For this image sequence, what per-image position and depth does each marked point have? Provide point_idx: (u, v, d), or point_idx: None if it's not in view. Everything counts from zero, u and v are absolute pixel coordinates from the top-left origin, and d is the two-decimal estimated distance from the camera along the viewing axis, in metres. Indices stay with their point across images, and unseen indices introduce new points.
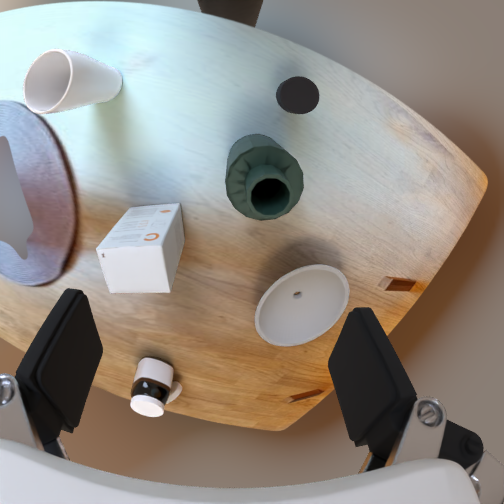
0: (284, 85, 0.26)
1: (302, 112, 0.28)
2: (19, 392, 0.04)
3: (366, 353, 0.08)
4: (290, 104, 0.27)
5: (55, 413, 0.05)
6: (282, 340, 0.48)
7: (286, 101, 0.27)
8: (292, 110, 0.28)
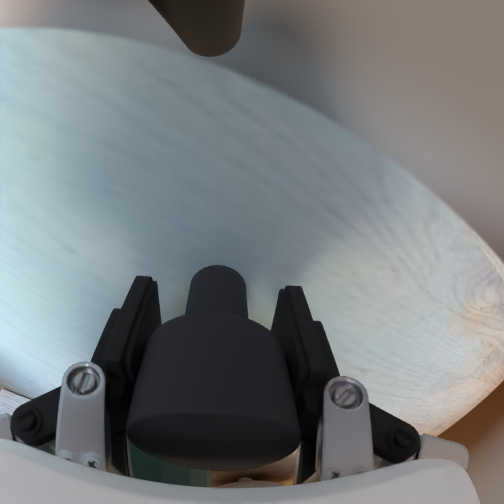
0: (135, 427, 0.05)
1: (225, 470, 0.07)
2: (106, 378, 0.06)
3: (287, 328, 0.08)
4: (177, 460, 0.06)
5: None
6: None
7: (158, 454, 0.06)
8: (188, 467, 0.06)
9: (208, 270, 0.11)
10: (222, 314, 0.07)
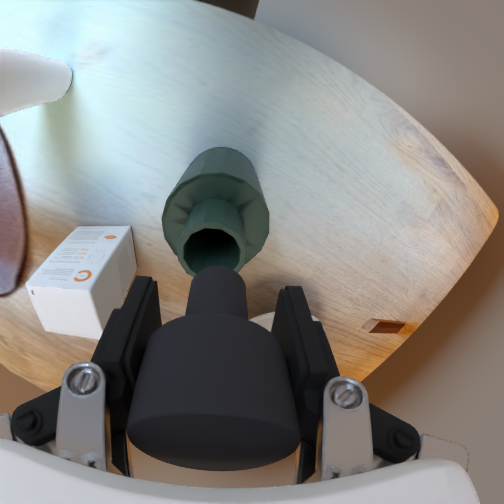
0: (135, 427, 0.05)
1: (225, 470, 0.07)
2: (106, 378, 0.06)
3: (287, 328, 0.08)
4: (177, 460, 0.06)
5: None
6: None
7: (159, 455, 0.06)
8: (188, 467, 0.06)
9: (208, 271, 0.11)
10: (222, 315, 0.07)
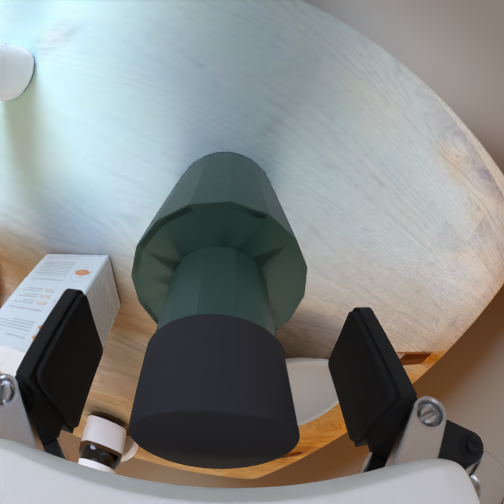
0: (138, 425, 0.05)
1: (225, 467, 0.07)
2: (19, 392, 0.04)
3: (366, 353, 0.08)
4: (178, 458, 0.06)
5: (55, 413, 0.05)
6: None
7: (160, 453, 0.06)
8: (188, 465, 0.07)
9: None
10: (222, 315, 0.07)
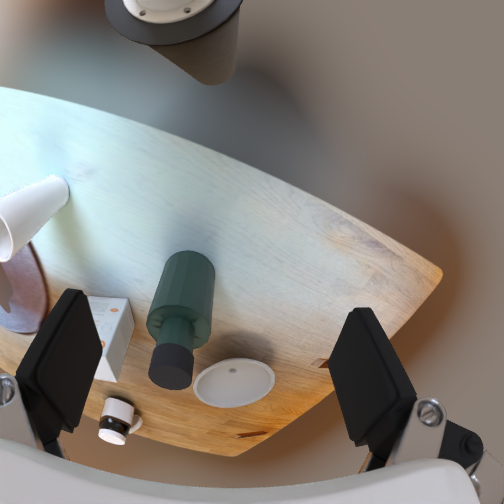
0: (151, 370, 0.24)
1: (175, 389, 0.26)
2: (19, 392, 0.04)
3: (366, 353, 0.08)
4: (161, 384, 0.25)
5: (55, 413, 0.05)
6: (219, 403, 0.52)
7: (156, 381, 0.25)
8: (164, 387, 0.26)
9: None
10: (173, 343, 0.26)
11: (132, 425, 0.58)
